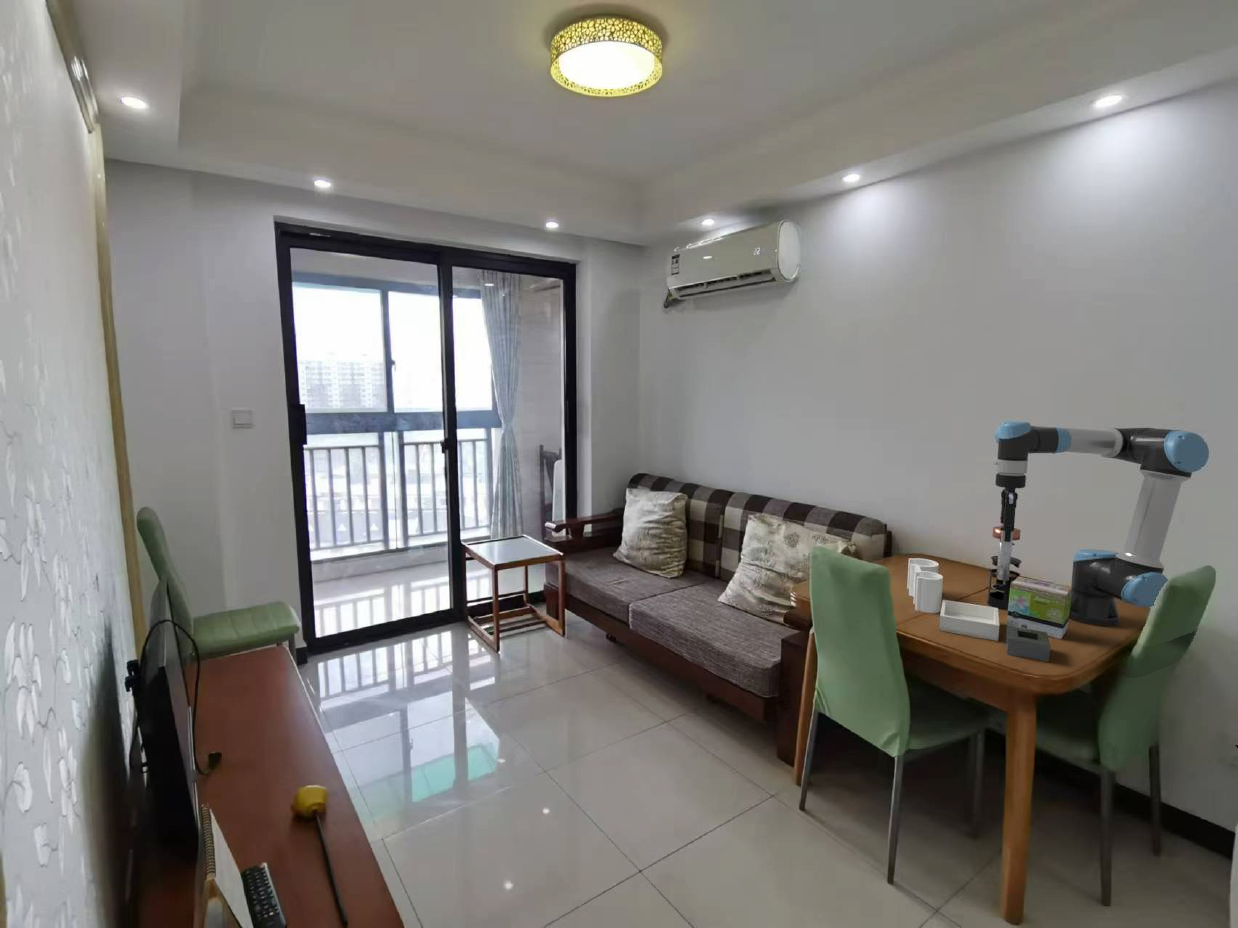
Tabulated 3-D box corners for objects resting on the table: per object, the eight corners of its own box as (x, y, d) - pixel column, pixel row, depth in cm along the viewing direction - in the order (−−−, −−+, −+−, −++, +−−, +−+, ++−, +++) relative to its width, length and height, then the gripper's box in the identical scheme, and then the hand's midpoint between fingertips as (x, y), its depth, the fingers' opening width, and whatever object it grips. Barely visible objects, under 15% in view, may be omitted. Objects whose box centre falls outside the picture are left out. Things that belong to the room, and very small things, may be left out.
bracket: (944, 614, 204) (947, 580, 203) (913, 611, 208) (915, 577, 206) (934, 590, 228) (936, 559, 226) (906, 587, 231) (908, 557, 229)
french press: (1022, 612, 205) (1028, 547, 202) (991, 609, 208) (996, 545, 205) (1012, 600, 216) (1017, 538, 213) (982, 597, 219) (987, 536, 216)
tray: (996, 622, 197) (997, 608, 196) (998, 641, 184) (999, 625, 183) (941, 613, 205) (942, 599, 205) (939, 630, 192) (940, 615, 191)
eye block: (1045, 648, 178) (1046, 632, 178) (1048, 662, 170) (1050, 645, 169) (1005, 641, 183) (1006, 625, 183) (1006, 654, 175) (1008, 638, 174)
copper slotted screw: (988, 573, 187) (992, 523, 185) (1015, 577, 184) (1019, 526, 181) (989, 580, 181) (993, 528, 179) (1017, 583, 178) (1021, 531, 175)
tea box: (1005, 626, 194) (1009, 582, 192) (1013, 617, 201) (1017, 575, 199) (1062, 640, 184) (1066, 594, 182) (1068, 630, 191) (1073, 586, 189)
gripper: (994, 468, 188) (988, 539, 191) (998, 477, 171) (992, 555, 174) (1022, 469, 184) (1016, 541, 188) (1030, 479, 167) (1023, 558, 171)
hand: (1005, 548), depth 181 cm, fingers closed on copper slotted screw, 7 cm apart
